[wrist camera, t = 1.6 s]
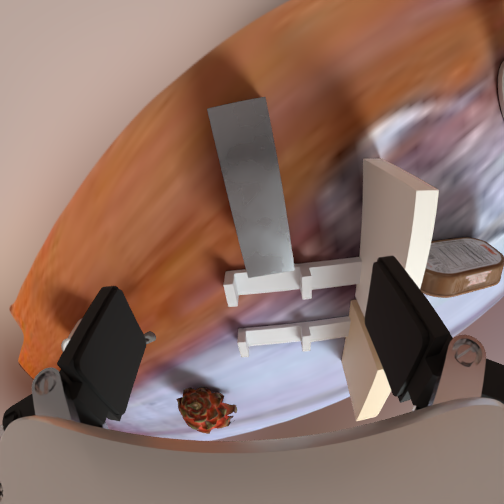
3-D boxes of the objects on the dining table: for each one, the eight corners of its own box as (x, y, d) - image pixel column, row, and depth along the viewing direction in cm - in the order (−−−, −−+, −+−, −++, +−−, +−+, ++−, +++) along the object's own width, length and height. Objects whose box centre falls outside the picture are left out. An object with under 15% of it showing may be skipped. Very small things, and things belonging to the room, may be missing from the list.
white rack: (385, 158, 23) (452, 195, 14) (359, 357, 38) (376, 416, 29) (205, 173, 24) (174, 219, 15) (248, 371, 39) (247, 434, 30)
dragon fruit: (188, 366, 42) (229, 390, 48) (157, 399, 39) (202, 418, 46) (211, 397, 35) (254, 416, 41) (176, 433, 33) (223, 446, 39)
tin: (391, 263, 29) (422, 309, 22) (394, 240, 28) (430, 283, 21) (475, 250, 28) (509, 284, 21) (480, 230, 27) (517, 262, 20)
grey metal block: (262, 99, 21) (265, 96, 16) (287, 237, 28) (294, 270, 23) (218, 108, 22) (207, 108, 16) (249, 244, 28) (248, 278, 23)
